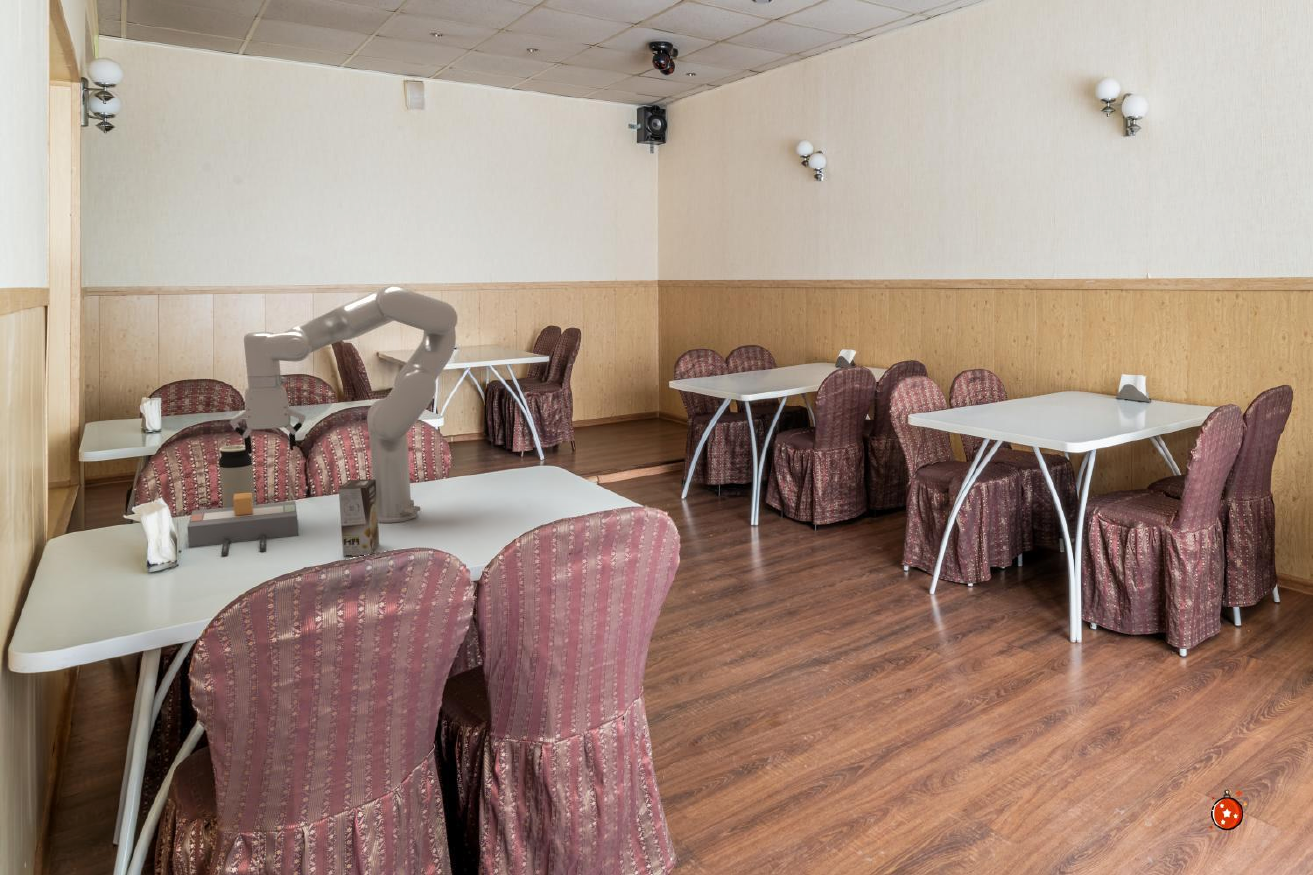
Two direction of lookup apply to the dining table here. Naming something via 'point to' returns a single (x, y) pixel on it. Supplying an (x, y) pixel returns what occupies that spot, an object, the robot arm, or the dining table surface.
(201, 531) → the box
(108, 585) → the dining table surface
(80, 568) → the dining table surface
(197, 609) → the dining table surface
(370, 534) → the coffee box
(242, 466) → the travel mug
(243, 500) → the knob
